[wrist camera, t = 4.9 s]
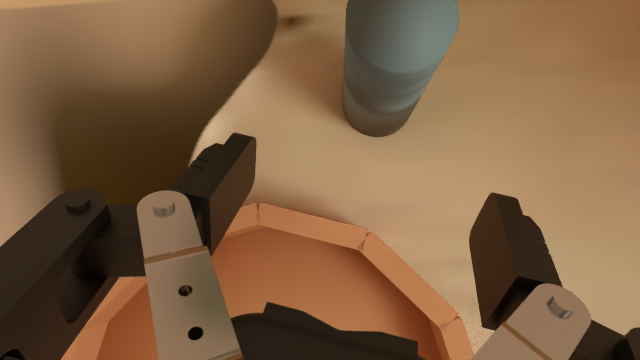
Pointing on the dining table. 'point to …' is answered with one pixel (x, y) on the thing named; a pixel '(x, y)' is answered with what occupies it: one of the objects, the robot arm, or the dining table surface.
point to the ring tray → (292, 288)
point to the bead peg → (392, 58)
